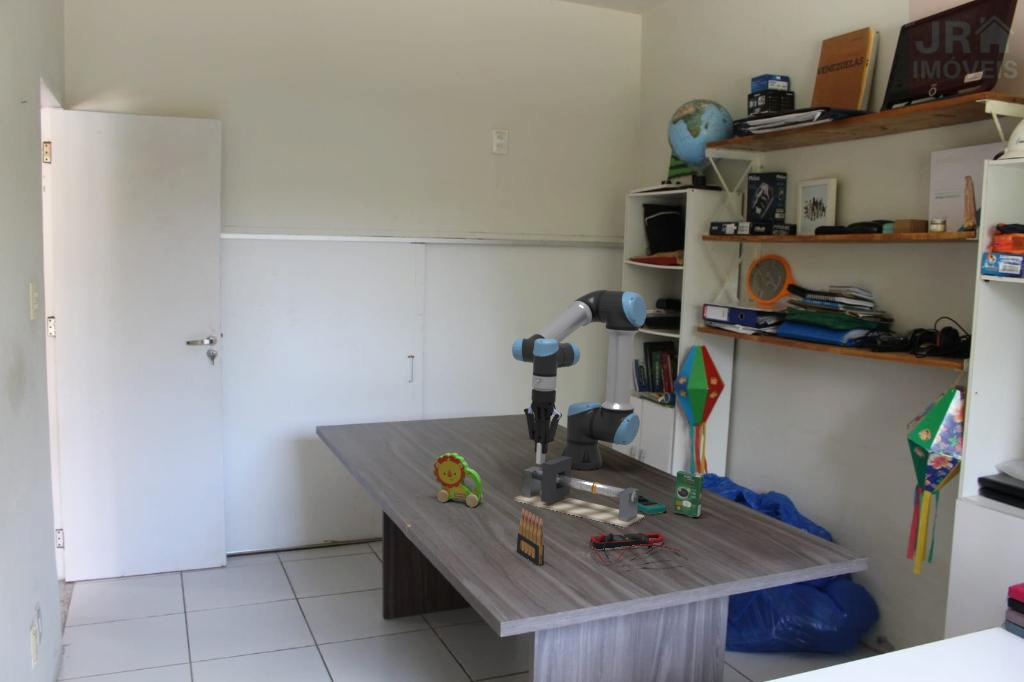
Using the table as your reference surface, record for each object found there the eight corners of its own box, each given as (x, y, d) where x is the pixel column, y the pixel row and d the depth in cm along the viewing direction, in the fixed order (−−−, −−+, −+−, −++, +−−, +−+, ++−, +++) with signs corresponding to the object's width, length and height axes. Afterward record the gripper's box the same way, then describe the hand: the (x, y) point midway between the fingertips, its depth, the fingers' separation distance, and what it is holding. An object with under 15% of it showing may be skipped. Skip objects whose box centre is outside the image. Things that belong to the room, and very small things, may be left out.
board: (513, 500, 265) (513, 497, 265) (534, 492, 275) (535, 489, 275) (625, 528, 243) (625, 525, 243) (644, 518, 253) (644, 515, 253)
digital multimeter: (637, 500, 272) (637, 491, 272) (667, 514, 259) (667, 505, 259) (618, 503, 269) (619, 494, 268) (648, 517, 256) (648, 507, 256)
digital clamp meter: (575, 528, 230) (659, 523, 237) (574, 545, 230) (658, 539, 237) (609, 560, 207) (700, 553, 214) (608, 578, 208) (699, 570, 215)
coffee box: (701, 517, 257) (704, 475, 255) (697, 519, 254) (700, 476, 253) (676, 511, 261) (679, 469, 260) (672, 513, 259) (675, 471, 257)
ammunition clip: (516, 551, 222) (518, 507, 220) (522, 550, 222) (524, 506, 221) (537, 566, 212) (539, 519, 211) (543, 564, 213) (546, 518, 212)
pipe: (522, 496, 267) (523, 469, 266) (532, 492, 271) (533, 465, 270) (627, 522, 246) (629, 492, 245) (636, 517, 251) (638, 488, 250)
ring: (541, 501, 259) (542, 463, 258) (561, 492, 269) (563, 455, 267) (549, 503, 257) (551, 464, 256) (569, 494, 267) (571, 457, 266)
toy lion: (483, 503, 261) (485, 455, 259) (476, 508, 256) (478, 459, 254) (437, 496, 267) (438, 448, 265) (429, 500, 262) (431, 452, 260)
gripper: (519, 387, 263) (516, 461, 266) (555, 393, 256) (551, 469, 259) (533, 384, 269) (529, 457, 272) (568, 390, 262) (564, 464, 265)
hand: (540, 463), depth 265 cm, fingers closed
